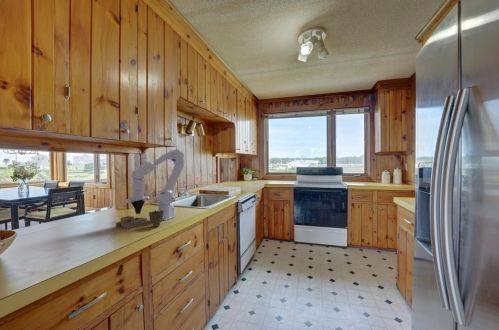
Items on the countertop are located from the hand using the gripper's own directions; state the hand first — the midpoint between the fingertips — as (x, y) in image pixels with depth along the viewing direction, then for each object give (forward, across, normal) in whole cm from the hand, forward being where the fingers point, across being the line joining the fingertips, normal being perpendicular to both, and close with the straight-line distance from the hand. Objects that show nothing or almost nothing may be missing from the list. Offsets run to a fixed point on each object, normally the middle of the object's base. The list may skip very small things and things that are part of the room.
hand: (138, 213), depth 126 cm
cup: (+6, +1, +15) cm, 16 cm away
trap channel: (+5, +4, 0) cm, 7 cm away
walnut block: (+6, +7, 0) cm, 9 cm away
